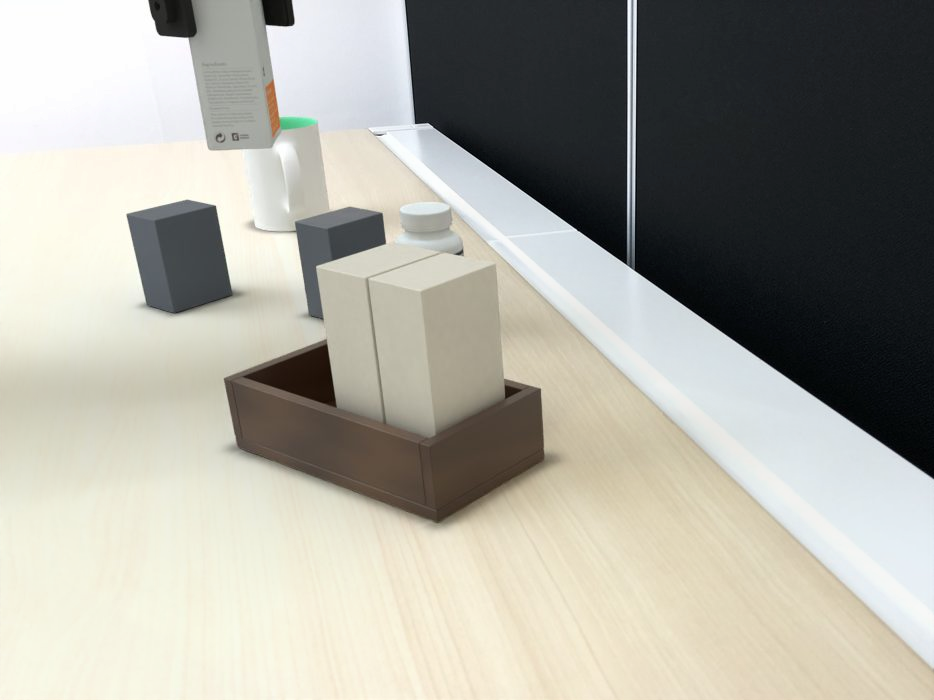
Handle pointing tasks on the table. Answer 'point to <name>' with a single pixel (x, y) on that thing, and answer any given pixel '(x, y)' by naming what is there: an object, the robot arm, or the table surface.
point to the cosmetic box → (234, 75)
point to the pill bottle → (429, 228)
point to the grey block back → (180, 255)
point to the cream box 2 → (438, 342)
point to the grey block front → (334, 243)
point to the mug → (287, 177)
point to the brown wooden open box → (381, 437)
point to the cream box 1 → (358, 323)
